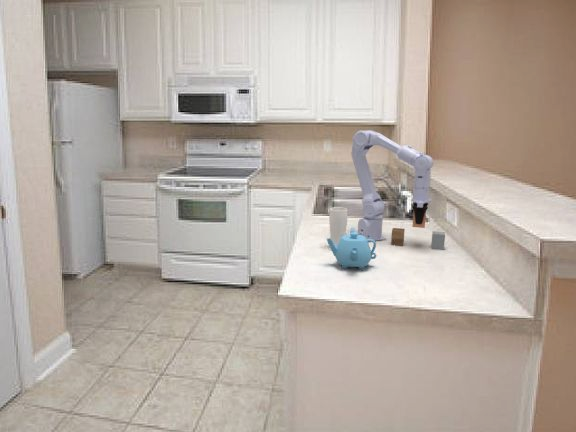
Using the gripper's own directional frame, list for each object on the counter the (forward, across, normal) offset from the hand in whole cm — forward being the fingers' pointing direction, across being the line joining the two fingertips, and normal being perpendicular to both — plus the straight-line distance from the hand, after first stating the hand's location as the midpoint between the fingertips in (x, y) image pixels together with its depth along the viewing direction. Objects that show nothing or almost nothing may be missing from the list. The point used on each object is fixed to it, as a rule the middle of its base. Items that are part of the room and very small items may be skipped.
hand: (418, 222), depth 168 cm
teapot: (+10, -32, +21) cm, 39 cm away
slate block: (+10, 0, -8) cm, 12 cm away
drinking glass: (+10, -12, +29) cm, 33 cm away
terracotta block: (+1, 0, 0) cm, 1 cm away
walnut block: (+10, 0, +8) cm, 12 cm away
